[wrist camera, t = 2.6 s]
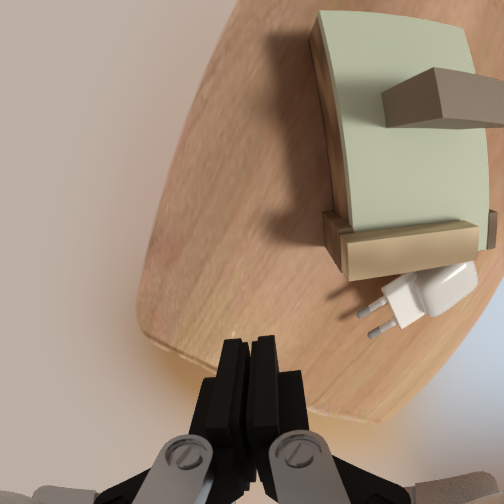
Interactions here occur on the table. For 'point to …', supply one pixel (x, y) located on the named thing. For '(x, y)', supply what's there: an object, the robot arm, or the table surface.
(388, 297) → the power adapter
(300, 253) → the table surface
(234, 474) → the robot arm
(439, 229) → the tan rectangular block
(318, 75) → the brown wooden open box
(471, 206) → the lid
